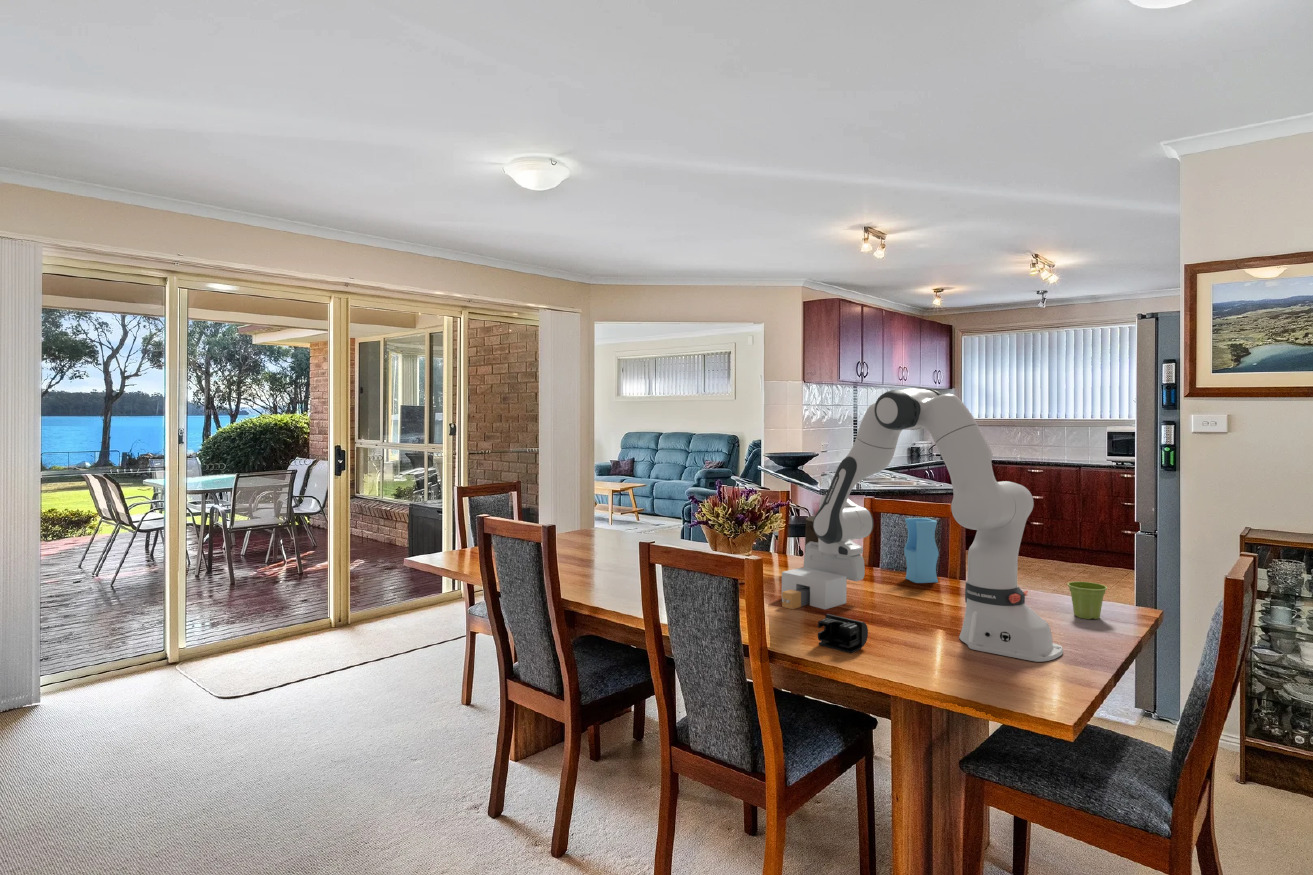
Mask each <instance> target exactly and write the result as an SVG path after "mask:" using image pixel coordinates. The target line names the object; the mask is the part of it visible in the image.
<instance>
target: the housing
mask: <svg viewBox="0 0 1313 875" xmlns="http://www.w3.org/2000/svg"><path fill="white" fill-rule="evenodd" d="M847 580H848V579H847V576H843V575H838V574H833V573H829V572H824V571H819V570H814V569H809V568H804V566H803V567H797V568H793V569H788V570H784V571H781V593H782V592H783V591H787V590H791V589H792V590H798V589H802V588H806V587H810V604H809V606H811V607H814V608H817V609H818V608H819V609H822V610H828V609H832V608H835V607H839V606H842V605H845V604H847V584H848V583H847V582H848V581H847Z"/></svg>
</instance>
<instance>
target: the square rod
mask: <svg viewBox="0 0 1313 875" xmlns="http://www.w3.org/2000/svg"><path fill="white" fill-rule="evenodd" d="M807 605H810V587H806V588H802V589H798V590H792V589H791V590H787V591H783V592H782V591H781V607H782V608H786V609H789V610H795V609H799V608H801V607H804V606H807Z"/></svg>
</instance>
